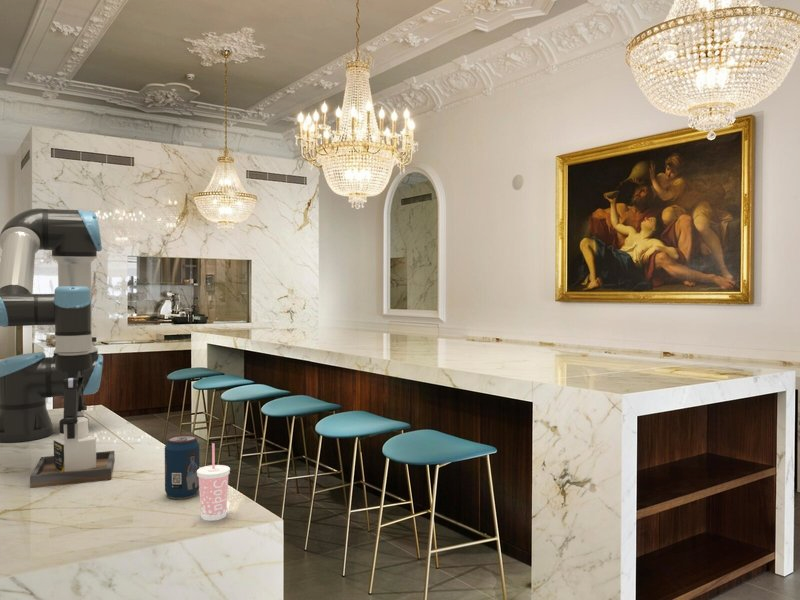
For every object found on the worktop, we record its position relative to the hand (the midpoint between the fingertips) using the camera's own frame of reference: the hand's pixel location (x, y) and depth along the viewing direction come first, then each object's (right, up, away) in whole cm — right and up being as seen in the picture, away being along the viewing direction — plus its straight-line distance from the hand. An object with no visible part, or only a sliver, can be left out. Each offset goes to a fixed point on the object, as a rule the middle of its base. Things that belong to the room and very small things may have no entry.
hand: (74, 445), depth 150 cm
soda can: (+30, -7, -14) cm, 34 cm away
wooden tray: (0, -7, 0) cm, 7 cm away
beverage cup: (+40, -8, -26) cm, 48 cm away
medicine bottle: (0, -6, 0) cm, 6 cm away
